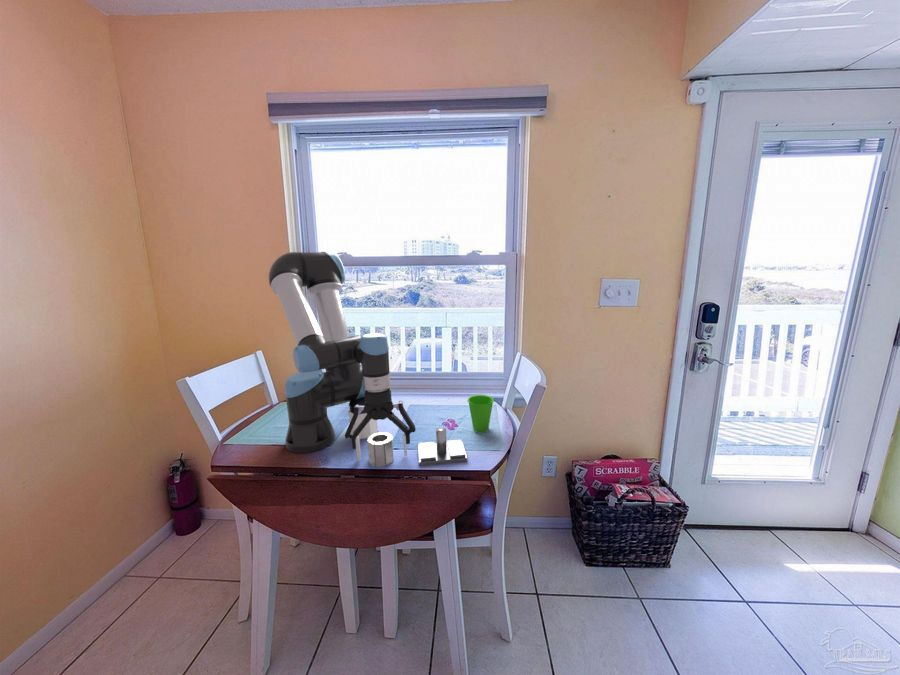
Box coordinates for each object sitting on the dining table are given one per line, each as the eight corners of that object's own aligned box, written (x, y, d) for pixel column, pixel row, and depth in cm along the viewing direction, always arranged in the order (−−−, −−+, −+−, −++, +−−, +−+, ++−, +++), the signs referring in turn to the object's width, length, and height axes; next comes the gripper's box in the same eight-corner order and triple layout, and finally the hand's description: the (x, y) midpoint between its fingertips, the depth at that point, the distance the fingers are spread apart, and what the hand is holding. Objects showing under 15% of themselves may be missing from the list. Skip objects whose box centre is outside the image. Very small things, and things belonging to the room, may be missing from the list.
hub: (368, 467, 99) (366, 445, 98) (370, 454, 106) (369, 433, 105) (393, 465, 100) (391, 443, 99) (393, 452, 107) (392, 431, 105)
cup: (496, 434, 116) (496, 404, 114) (469, 436, 116) (468, 405, 113) (491, 422, 125) (491, 394, 123) (466, 424, 125) (466, 395, 122)
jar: (382, 433, 119) (378, 401, 116) (360, 443, 114) (356, 409, 111) (369, 425, 126) (365, 394, 123) (348, 433, 120) (344, 401, 118)
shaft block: (419, 465, 99) (418, 439, 98) (418, 447, 109) (417, 423, 107) (467, 461, 101) (467, 435, 99) (462, 444, 111) (461, 420, 109)
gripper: (329, 396, 93) (337, 467, 98) (421, 389, 97) (425, 458, 101) (334, 386, 101) (341, 453, 105) (420, 380, 104) (423, 445, 108)
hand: (382, 456), depth 103 cm, fingers open, 13 cm apart
